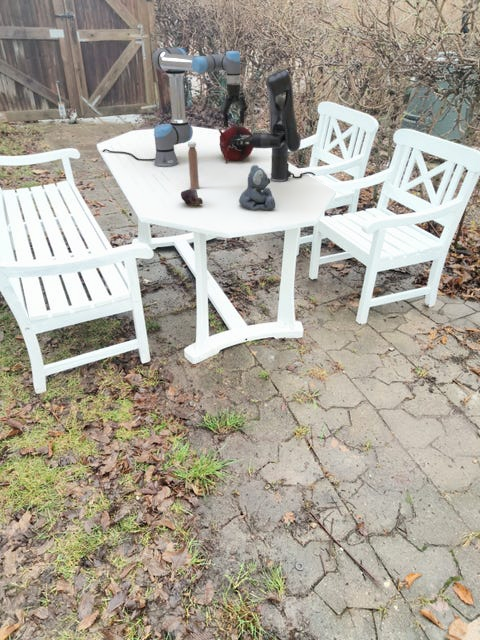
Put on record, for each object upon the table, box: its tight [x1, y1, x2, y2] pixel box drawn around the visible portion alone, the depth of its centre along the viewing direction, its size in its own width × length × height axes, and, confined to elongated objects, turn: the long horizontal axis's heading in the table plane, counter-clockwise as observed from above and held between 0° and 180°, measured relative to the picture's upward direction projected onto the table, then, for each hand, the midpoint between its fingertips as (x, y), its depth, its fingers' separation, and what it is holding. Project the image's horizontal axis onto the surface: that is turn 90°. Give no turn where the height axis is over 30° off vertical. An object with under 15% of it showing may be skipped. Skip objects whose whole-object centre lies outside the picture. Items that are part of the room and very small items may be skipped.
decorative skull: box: [218, 125, 254, 164], centre depth 298 cm, size 21×24×25 cm
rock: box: [180, 188, 204, 207], centre depth 229 cm, size 12×9×10 cm
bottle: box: [187, 146, 200, 190], centre depth 247 cm, size 5×5×24 cm
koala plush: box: [238, 164, 276, 211], centre depth 224 cm, size 17×18×20 cm
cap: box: [187, 141, 197, 148], centre depth 240 cm, size 4×4×2 cm
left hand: (234, 125), depth 259 cm, fingers open, 13 cm apart
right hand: (231, 139), depth 236 cm, fingers open, 8 cm apart
